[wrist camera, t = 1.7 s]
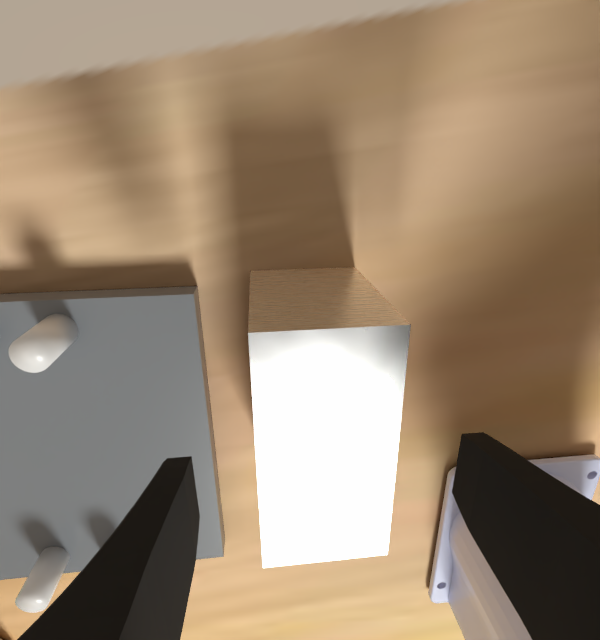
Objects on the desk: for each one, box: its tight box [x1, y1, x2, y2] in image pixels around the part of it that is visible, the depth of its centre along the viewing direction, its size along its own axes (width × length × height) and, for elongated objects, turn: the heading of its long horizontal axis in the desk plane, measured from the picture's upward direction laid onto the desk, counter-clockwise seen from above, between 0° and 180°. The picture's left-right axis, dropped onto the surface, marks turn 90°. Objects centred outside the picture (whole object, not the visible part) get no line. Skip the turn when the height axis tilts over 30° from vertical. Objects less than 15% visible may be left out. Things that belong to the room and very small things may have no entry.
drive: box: [248, 267, 411, 568], centre depth 14 cm, size 8×4×6 cm, turn 1°
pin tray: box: [0, 286, 225, 613], centre depth 15 cm, size 13×12×3 cm
